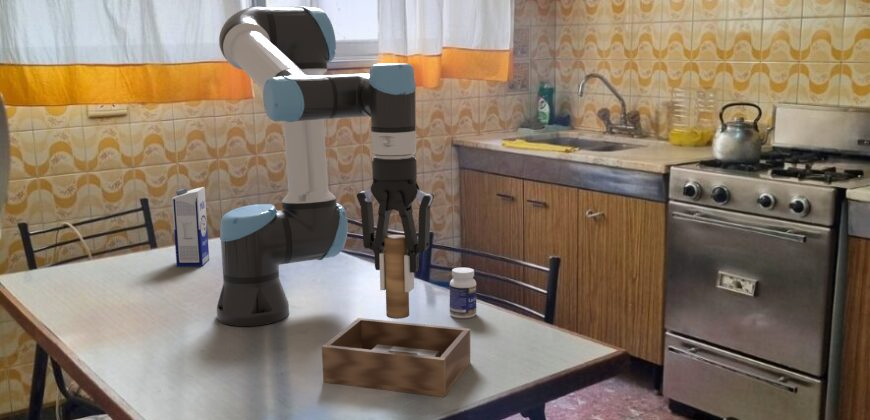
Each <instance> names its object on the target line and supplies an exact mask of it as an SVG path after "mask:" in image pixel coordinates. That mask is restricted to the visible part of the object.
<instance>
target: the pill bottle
mask: <svg viewBox="0 0 870 420" xmlns="http://www.w3.org/2000/svg"><path fill="white" fill-rule="evenodd" d="M451 276H452V279H451V280H450V281H449V316H451V317H453V318H455V319H469V318H473V317H475V316H476V315H477V282H476V280H475V279H474V277H475V269H473V268H471V267H455V268H452V270H451Z"/></svg>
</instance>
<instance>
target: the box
mask: <svg viewBox="0 0 870 420" xmlns="http://www.w3.org/2000/svg"><path fill="white" fill-rule="evenodd" d="M321 357H322V382H323V383H326V384H328V383H329V384H335V385H342V386H352V387H358V388H359V387H360V388H368V389H376V390H385V391H391V392H400V393H407V394H409V393H410V394H415V395H423V396H432V397H442V398H445V396H446V395H448V392H450V390H451V389H452V388H453V387H454V386H455V384H456V382H457V381H458V380H459V378H460V377H461V376H462V374H463V373H464V372H465V371H466V369H467V368H468V367H469V365H470V364H471V328H464V327H454V326H445V325H444V326H443V325H433V324H424V323H414V322H404V321H393V320H392V321H391V320H383V319H372V318H363V317H362V318H361V317H357V318H356V319H355V320H353V322H351V323H350V324H348V325H347V326H346V327H345V328H343V329H342V330H341V331H340V332H339V333H336V335H334V337H332V338H331V339H329V340H328V341H327V342H326V343H325V344H323V345H322V346H321Z"/></svg>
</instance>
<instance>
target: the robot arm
mask: <svg viewBox="0 0 870 420" xmlns="http://www.w3.org/2000/svg"><path fill="white" fill-rule="evenodd" d="M218 37H219V38H218V42H219V45H218V46H219V48H220V51H221V54H222V55H223V57H224V59H225V60H226V61H227V62H228V63H229V65H231V66H232V67H234V68H236V69H238V70H242V71H244V72H245V73H246V74H247V75H248V76H249V78H250V79H251V80H253V82H254V83H255V84H256V85H257V86H258V87H259V88H260V89H261V90H262V91H263V92H262V102H263V108H264V110H265V112H266V116H267V118H268V119H269V120H271V121H272V122H273V121H274V122H283V135H284V150H285V163H286V176H287V177H286V178H287V190H288V192H287V194H286V195H285V197H283V199H282V200H281V204H282V208H281V209H278V210H277V208H276V206H275V205H274V204H271V203H260V204H258V203H257V204H256V203H255V204H249V205H248V204H247V205H244V206H240V207H237V208H234V209H232V210H229V211H228V212H226V213H225V214H224V215H223V216H222V218H221V220H220V227H219V228H220V229H219V231H220V235H219V240H220V246H221V265H222V276H223V277H222V278H223V282H222V283H223V284H222V287H221V291H220V294H219V298H218V302H217V306H216V318H217V321H218V322H220V323H222V324H224V325H228V326H236V327H255V326H256V327H257V326H263V325H268V324H273V323H277V322H279V321H282V320H284V319H285V318H287V317H288V315H289V314H290V304H289V300H288V297H287V296H286V293H285V290H284V287H283V285H282V282H281V280H280V269H279V268H280V266H281V265H287V264H294V263H295V264H296V263H300V262H306V261H323V260H324V259H328V258H334V257H336V256H338V255H339V254H340V253H341V252H342V251H343V250H344V247H345V245H346V242H347V236H348V230H349V229H348V228H349V227H348V226H349V225H348V217H347V215H346V214H347V212H346V210H345V207H344V206H343V205H342V204H339V203H337V199H336V196H335V194H333V193H332V192H331V191H330V190H329V181H328V169H327V168H328V167H327V153H326V151H327V150H326V135H325V122H324V120H328V119H329V120H330V119H348V118H349V119H350V118H370V125H371V126H370V129H371V133H370V134H371V153H372V155H374V157H373V158H372V159H371V168H372V169H371V171H372V174H371V175H372V184H371V186H370V188H369V189H367V190H366V189H365V190H362V191H360V192H358V193H357V194H356V198H357V199H356V200H358V203H359V205H360V206H359V207H360V213H361V228H362V229H361V230H362V241H363V248H364V249H368V250H371V251H372V252H374V268H375V270H376V271H379V286H380V287H379V289H380V290H379V291H386V280H385V243H384V237H386V236H388V229H389V223H390V218H391V213H392V211H397V212H398V216H399V217H400V219H401V224H402V228H403V235H405V239H406V244H407V249H408V253H407V254H405V255H404V275H405V292H409V293H410V292H411V291H412V290H414V289H415V273H417V272H418V271H419V268H420V265H419V263H420V261H419V260H420V257H419V255H420V253H424V252H425V251H426V250H428V249H430V236H431V235H430V231H431V229H430V228H431V227H430V225H431V206H432V203H433V202H434V198H435V196H434V194H433V193H427V192H425V191H422V190H421V189H420V186H419V184H418V181H417V179H418V177H417V174H418V173H417V170H418V169H417V167H418V165H417V158H416V157H415V156H414V155H415V154H416V153H417V134H416V133H417V130H416V128H417V127H416V119H417V118H416V117H417V116H416V90H417V85H416V83H415V82H416V81H415V80H416V79H415V70H414V69H415V68H414V67H413V65H411V64H410V63H397V62H396V63H393V62H391V63H374V64H372V65H371V67H370V68H369V72H355V73H350V74H349V73H348V74H326V73H327V71H328V63H330V62H332V61H334V58H335V55H336V50H337V41H336V34H335V30H334V27H333V24H332V22H331V19H330V18H329V16H328V14H327V13H326V12H325V11H323V9H321V8H318V7H309V6H269V7H268V6H267V7H265V6H264V7H263V6H253V7H252V6H251V7H247V8H244V9H241V10H239V11H237V12H235V13H234V14H232V15H231V16H230V17H229V18H228V19H227V20H226V21H225V23H224V24H223V26H222V27H221V29H220V33H219V36H218ZM374 198H375V200H376V201H377V203H378V205H379V206H378V211H377V214H378V218H377V225H376V230H375V221H374V207H373V199H374ZM416 199H417V203H418V204H419V208H418V234H417V230H416V225H415V221H414V216H413V215H414V214H413V211H414V210H413V207H412V204H413V202H414V201H415V200H416ZM375 231H376V232H375ZM417 235H418V236H417Z"/></svg>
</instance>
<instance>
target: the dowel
mask: <svg viewBox="0 0 870 420" xmlns="http://www.w3.org/2000/svg"><path fill="white" fill-rule="evenodd" d="M384 243H385V249H384V250H385V280H386V290H385V310H386V313H385V314H386V317H387V318H389V319H395V320H396V319H397V320H398V319H406V318H408V317H409V316H410V292H405V275H404V255H405V254H407V253H408V249H407V244H406V239H405V234H389V235H387V236H386V237H384Z"/></svg>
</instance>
